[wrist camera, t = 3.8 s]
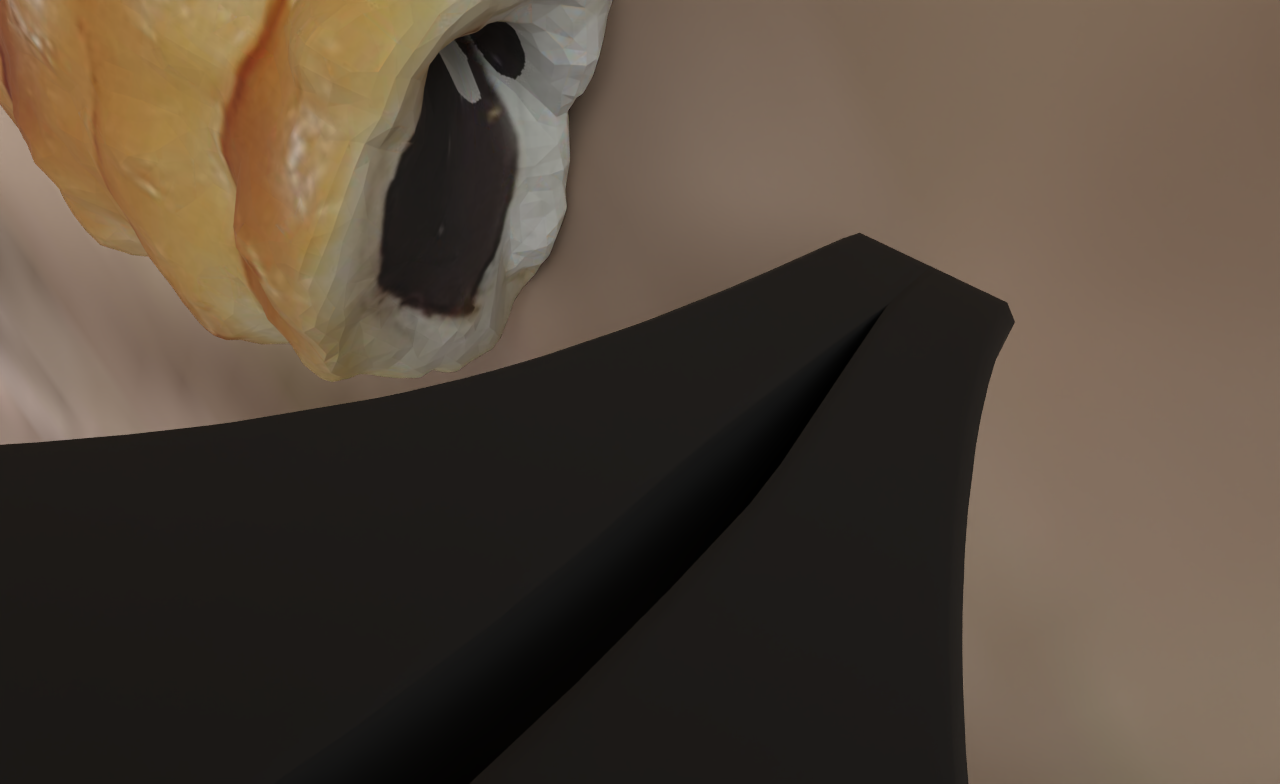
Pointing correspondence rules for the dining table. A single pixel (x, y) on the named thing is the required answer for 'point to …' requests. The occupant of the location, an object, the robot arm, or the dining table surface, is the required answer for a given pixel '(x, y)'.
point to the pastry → (314, 158)
